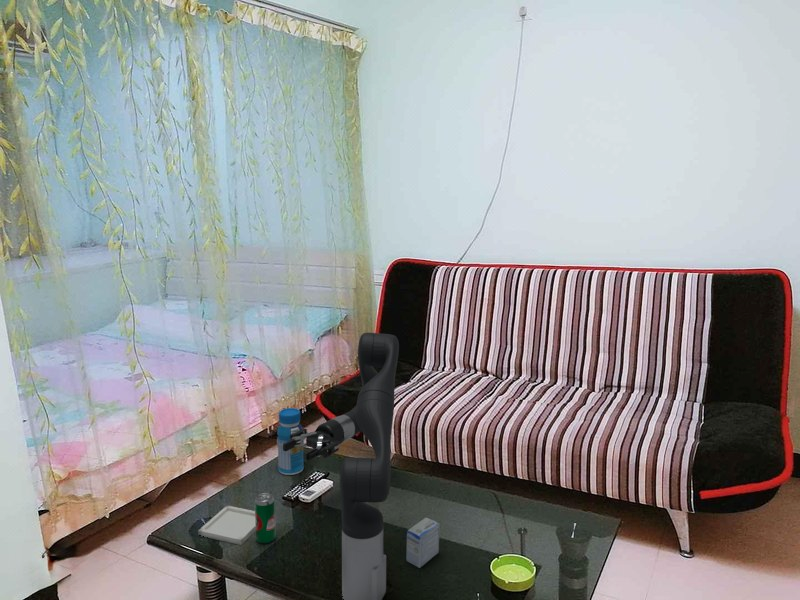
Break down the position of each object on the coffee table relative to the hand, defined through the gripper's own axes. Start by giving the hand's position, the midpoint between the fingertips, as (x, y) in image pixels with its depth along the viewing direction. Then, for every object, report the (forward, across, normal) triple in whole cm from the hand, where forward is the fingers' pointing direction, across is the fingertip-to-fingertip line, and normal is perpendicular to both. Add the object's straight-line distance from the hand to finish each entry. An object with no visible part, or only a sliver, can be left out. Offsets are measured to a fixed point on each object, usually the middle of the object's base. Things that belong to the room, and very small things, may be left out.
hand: (294, 452), depth 161 cm
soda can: (+11, 0, +20) cm, 23 cm away
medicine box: (-8, +37, +20) cm, 43 cm away
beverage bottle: (-19, -23, +21) cm, 36 cm away
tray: (+13, -11, +20) cm, 26 cm away
